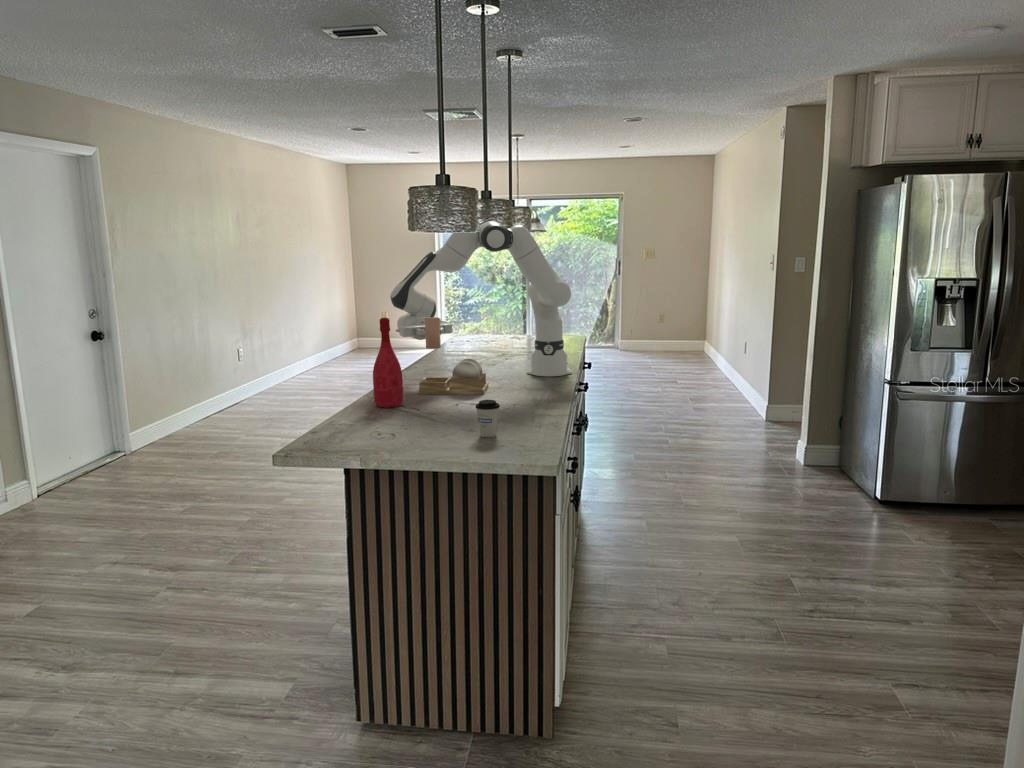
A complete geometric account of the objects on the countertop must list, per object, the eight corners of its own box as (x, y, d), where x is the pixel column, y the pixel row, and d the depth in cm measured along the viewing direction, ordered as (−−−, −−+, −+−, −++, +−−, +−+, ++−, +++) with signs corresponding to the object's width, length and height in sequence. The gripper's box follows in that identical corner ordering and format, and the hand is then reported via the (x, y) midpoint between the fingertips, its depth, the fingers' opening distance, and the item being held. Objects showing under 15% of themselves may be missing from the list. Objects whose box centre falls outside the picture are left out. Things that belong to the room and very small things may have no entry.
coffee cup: (487, 431, 200) (486, 397, 198) (505, 435, 195) (504, 400, 193) (471, 436, 194) (470, 402, 192) (489, 440, 190) (488, 405, 188)
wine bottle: (369, 407, 231) (363, 319, 225) (382, 401, 240) (378, 315, 234) (395, 409, 228) (391, 319, 222) (408, 402, 237) (404, 316, 231)
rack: (426, 386, 263) (425, 357, 261) (488, 386, 261) (487, 357, 259) (418, 394, 251) (417, 363, 248) (483, 394, 248) (482, 363, 246)
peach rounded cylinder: (426, 346, 257) (425, 317, 255) (441, 346, 257) (440, 317, 255) (424, 348, 252) (423, 319, 250) (439, 348, 252) (438, 318, 249)
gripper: (393, 321, 259) (406, 325, 247) (443, 318, 268) (458, 321, 257) (394, 338, 260) (407, 342, 248) (443, 334, 270) (458, 338, 258)
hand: (433, 331), depth 252 cm, fingers closed on peach rounded cylinder, 5 cm apart
